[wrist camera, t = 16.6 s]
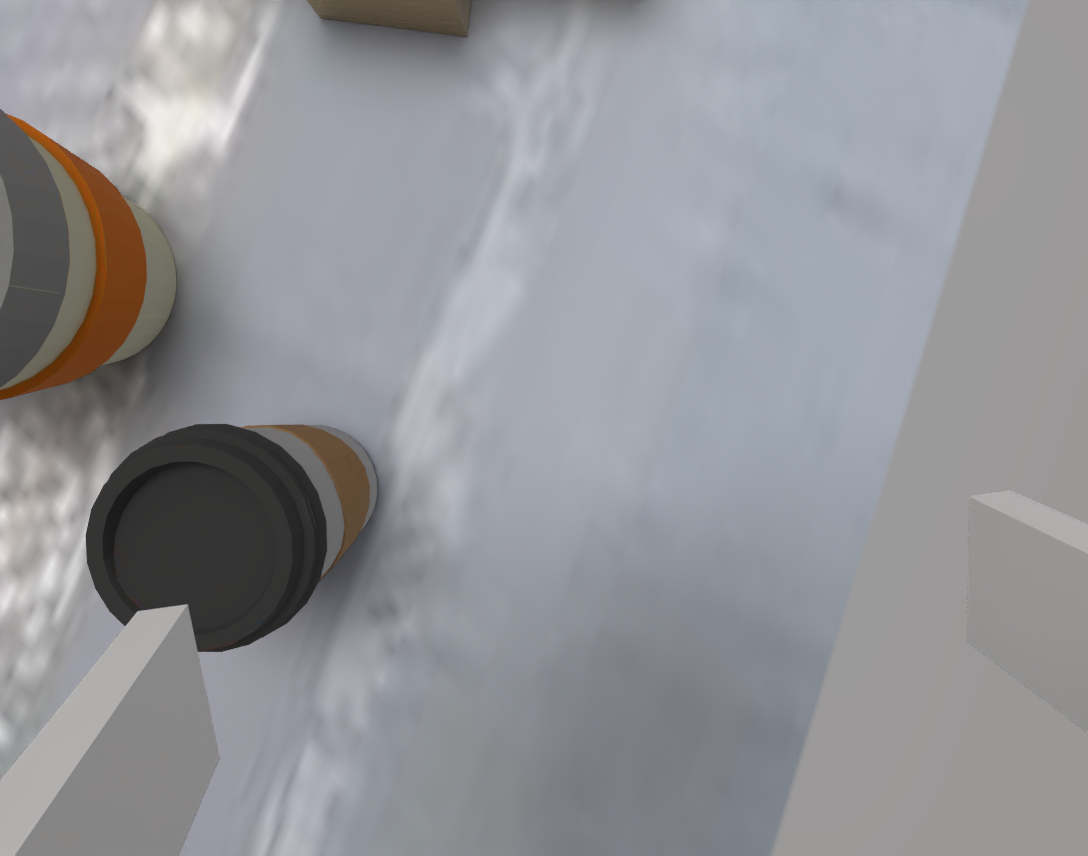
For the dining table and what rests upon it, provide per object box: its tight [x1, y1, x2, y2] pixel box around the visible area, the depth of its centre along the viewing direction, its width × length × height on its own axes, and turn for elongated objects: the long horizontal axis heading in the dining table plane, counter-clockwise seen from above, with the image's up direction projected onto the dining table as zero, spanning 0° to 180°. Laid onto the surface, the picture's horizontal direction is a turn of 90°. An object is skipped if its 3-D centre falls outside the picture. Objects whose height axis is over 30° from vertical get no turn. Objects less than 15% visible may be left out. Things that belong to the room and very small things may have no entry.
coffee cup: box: [86, 424, 378, 652], centre depth 37 cm, size 8×8×15 cm
